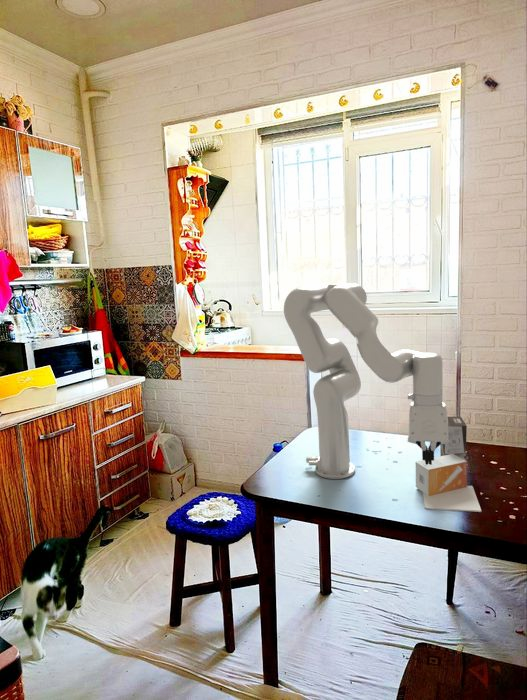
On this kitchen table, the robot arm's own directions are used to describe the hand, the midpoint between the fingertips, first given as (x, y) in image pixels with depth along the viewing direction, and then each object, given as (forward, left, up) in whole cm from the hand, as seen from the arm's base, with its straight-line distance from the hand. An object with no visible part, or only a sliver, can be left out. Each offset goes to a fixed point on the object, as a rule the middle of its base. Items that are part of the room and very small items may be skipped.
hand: (428, 462), depth 138 cm
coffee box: (+9, +18, -11) cm, 23 cm away
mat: (+6, 0, -10) cm, 12 cm away
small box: (-2, +2, -6) cm, 6 cm away
